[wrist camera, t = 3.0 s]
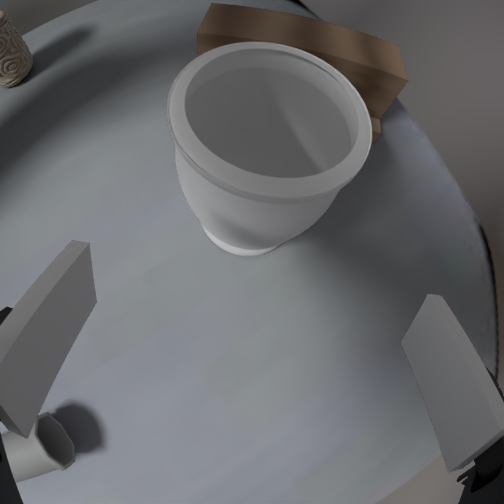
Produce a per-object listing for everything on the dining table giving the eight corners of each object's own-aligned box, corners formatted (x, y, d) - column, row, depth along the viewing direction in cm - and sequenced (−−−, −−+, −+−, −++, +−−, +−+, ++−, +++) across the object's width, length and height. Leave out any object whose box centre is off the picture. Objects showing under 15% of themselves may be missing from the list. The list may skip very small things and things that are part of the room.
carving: (7, 68, 31) (-22, 17, 19) (44, 57, 32) (18, -1, 20) (-9, 98, 29) (-45, 46, 18) (28, 87, 30) (-6, 28, 18)
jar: (164, 223, 28) (121, 120, 13) (231, 143, 30) (245, 20, 16) (263, 292, 27) (318, 246, 13) (322, 202, 30) (398, 104, 15)
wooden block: (194, 108, 31) (191, 45, 22) (213, 52, 34) (215, -5, 25) (373, 142, 32) (411, 94, 24) (367, 83, 35) (395, 35, 26)
